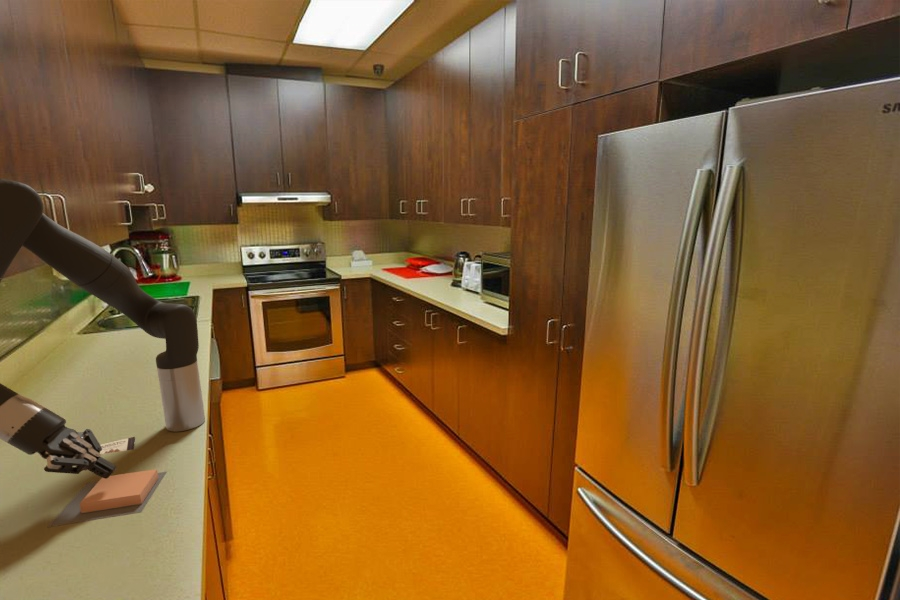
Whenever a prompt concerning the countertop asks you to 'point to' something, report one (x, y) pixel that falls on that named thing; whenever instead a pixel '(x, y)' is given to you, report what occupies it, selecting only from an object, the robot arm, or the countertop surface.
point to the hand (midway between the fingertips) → (112, 473)
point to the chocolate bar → (118, 446)
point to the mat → (74, 511)
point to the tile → (119, 491)
